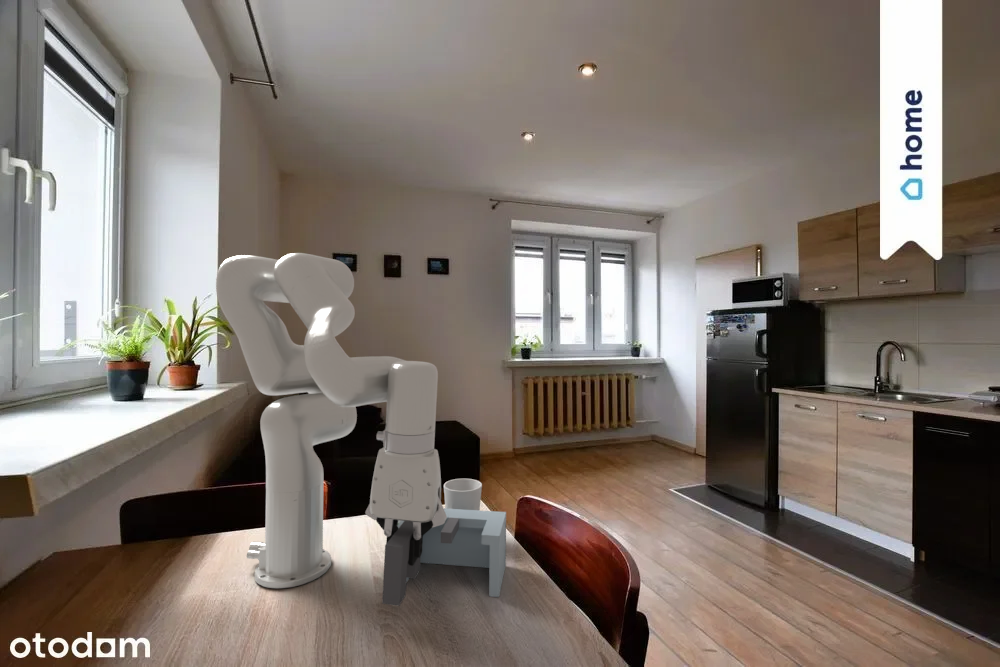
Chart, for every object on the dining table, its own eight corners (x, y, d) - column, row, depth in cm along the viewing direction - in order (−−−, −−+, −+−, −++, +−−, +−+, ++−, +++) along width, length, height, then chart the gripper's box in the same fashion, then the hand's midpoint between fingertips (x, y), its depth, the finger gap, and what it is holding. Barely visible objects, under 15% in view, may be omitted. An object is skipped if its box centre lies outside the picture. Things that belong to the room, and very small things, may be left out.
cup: (475, 553, 86) (476, 492, 86) (437, 549, 88) (438, 489, 88) (485, 535, 94) (485, 479, 94) (449, 532, 95) (450, 477, 95)
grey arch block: (399, 605, 63) (402, 547, 62) (382, 603, 63) (385, 545, 63) (419, 569, 72) (422, 518, 72) (404, 567, 72) (407, 517, 72)
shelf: (393, 588, 74) (394, 529, 74) (412, 558, 84) (413, 506, 84) (498, 597, 72) (499, 536, 72) (505, 565, 81) (506, 512, 82)
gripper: (348, 443, 64) (342, 566, 65) (455, 453, 62) (448, 580, 63) (370, 431, 72) (364, 542, 72) (466, 440, 70) (460, 553, 70)
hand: (403, 558), depth 67 cm, fingers closed on grey arch block, 2 cm apart
